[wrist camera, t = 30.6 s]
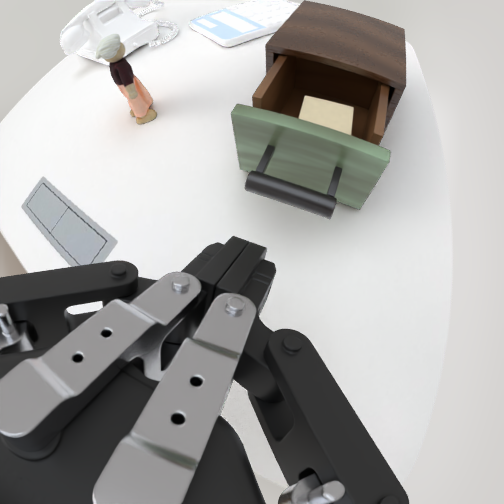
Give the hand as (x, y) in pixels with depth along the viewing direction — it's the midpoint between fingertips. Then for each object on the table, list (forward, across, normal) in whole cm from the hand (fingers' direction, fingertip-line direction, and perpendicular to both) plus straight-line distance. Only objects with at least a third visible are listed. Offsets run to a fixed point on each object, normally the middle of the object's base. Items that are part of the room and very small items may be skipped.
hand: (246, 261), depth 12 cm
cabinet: (+28, 0, +11) cm, 30 cm away
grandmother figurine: (+20, -22, +3) cm, 30 cm away
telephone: (+34, -39, +16) cm, 54 cm away
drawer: (+19, 0, +3) cm, 19 cm away
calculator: (+40, -18, +22) cm, 49 cm away
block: (+18, +1, +4) cm, 18 cm away
